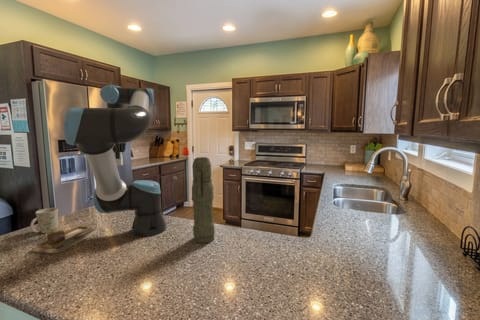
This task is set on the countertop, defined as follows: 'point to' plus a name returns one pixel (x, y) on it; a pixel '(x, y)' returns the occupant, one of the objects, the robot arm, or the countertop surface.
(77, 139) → the robot arm
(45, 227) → the mug
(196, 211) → the green carved statue
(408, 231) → the countertop surface
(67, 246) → the tuner board
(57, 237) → the slider knob
